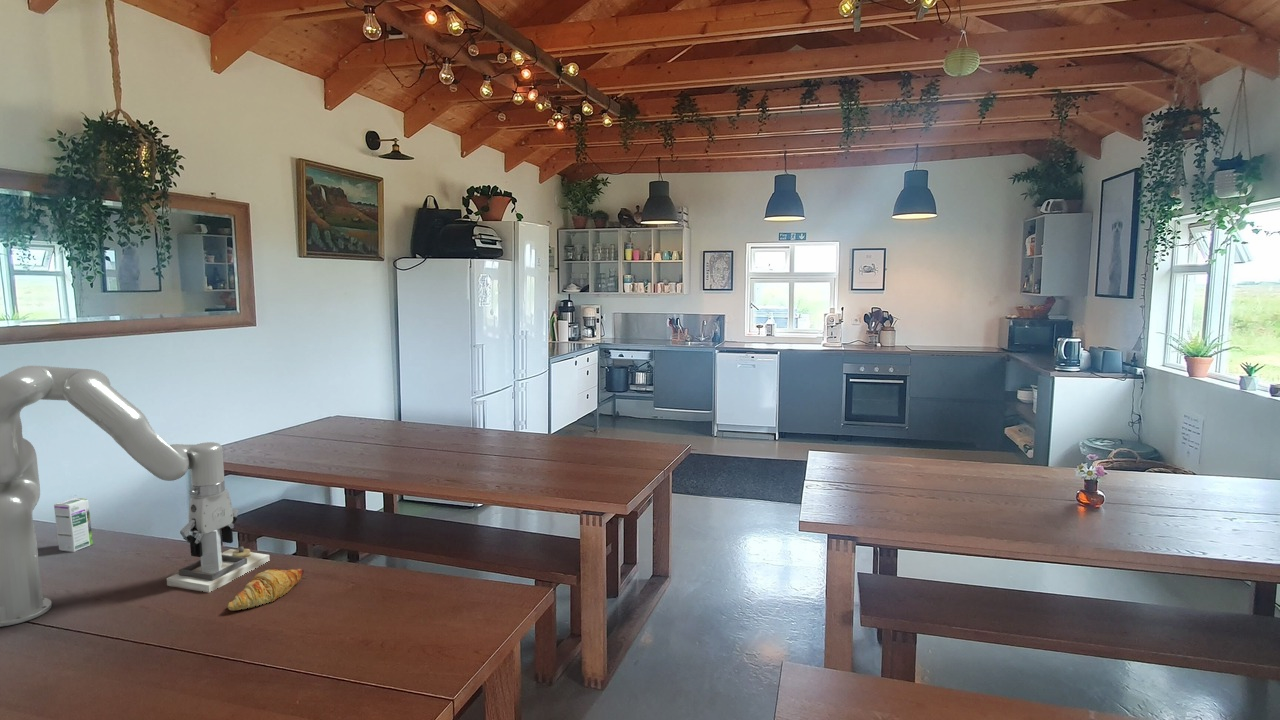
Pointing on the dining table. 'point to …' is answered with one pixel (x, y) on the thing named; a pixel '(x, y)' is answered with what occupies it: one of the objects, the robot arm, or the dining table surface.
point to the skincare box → (211, 552)
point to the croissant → (266, 588)
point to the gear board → (231, 568)
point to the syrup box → (73, 524)
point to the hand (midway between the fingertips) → (212, 549)
